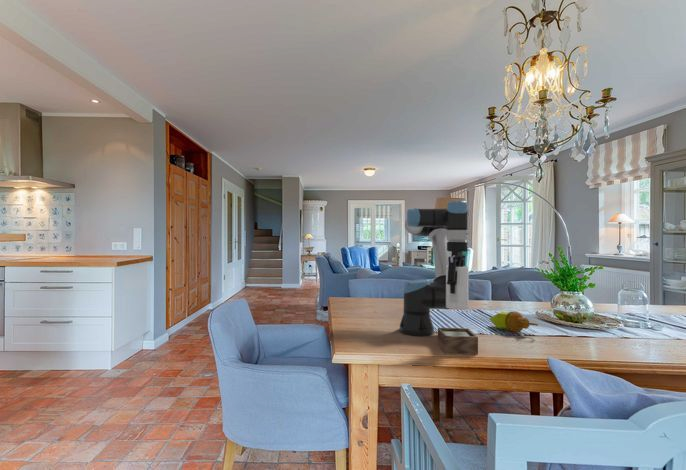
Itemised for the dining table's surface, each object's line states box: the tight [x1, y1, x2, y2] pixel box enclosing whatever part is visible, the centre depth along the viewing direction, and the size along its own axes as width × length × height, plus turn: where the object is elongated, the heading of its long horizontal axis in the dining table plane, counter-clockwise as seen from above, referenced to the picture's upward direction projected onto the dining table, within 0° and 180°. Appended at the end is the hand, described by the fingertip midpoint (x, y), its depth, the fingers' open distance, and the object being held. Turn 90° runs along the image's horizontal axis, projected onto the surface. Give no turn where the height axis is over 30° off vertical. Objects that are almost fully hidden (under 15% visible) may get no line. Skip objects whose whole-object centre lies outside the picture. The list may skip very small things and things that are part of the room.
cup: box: [446, 265, 470, 311], centre depth 131 cm, size 8×8×16 cm
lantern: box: [489, 311, 539, 333], centre depth 154 cm, size 9×9×25 cm
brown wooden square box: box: [437, 327, 479, 355], centre depth 130 cm, size 12×12×6 cm
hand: (457, 300), depth 131 cm, fingers closed on cup, 8 cm apart
